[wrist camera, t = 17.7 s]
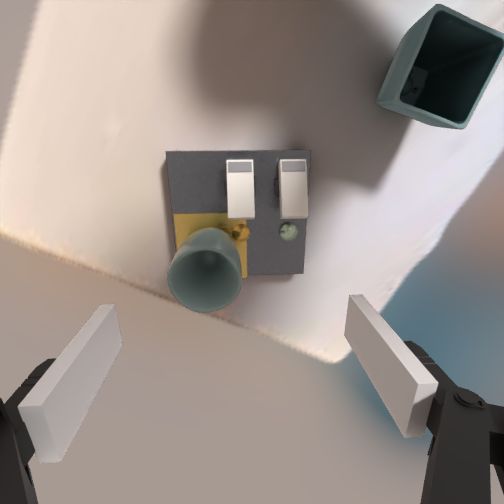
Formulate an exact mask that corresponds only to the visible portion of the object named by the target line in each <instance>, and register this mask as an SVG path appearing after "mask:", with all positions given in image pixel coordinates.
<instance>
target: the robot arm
mask: <svg viewBox="0 0 504 504" xmlns="http://www.w3.org/2000/svg"><path fill="white" fill-rule="evenodd" d="M344 336H345V337H346V339H347V341H348V342H349V344H350V346H351V348H352V349H353V351H354V353H355V354H356V356H357V358H358V359H359V361H360V363H361V365H362V366H363V368H364V370H365V371H366V373H367V375H368V377H369V378H370V380H371V382H372V383H373V385H374V387H375V388H376V390H377V392H378V393H379V395H380V397H381V399H382V400H383V402H384V404H385V405H386V407H387V409H388V411H389V412H390V414H391V416H392V418H393V419H394V421H395V423H396V424H397V426H398V428H399V429H400V431H401V433H402V434H403V436H404V438H417V437H424V433H425V429H426V426H427V427H428V429H429V430H430V431H431V433H432V434H433V437H432V441H431V444H430V448H429V451H428V455H429V458H428V463H427V469H426V475H425V480H424V486H423V492H422V498H421V503H420V504H491V490H490V464H493V465H494V467H495V470H496V473H497V476H498V479H499V482H500V485H501V487H502V491H503V494H504V407H502V406H497V405H492V404H487V403H486V402H485V401H484V400H483V399H482V398H481V397H479V396H478V395H477V394H475V393H474V392H472V391H470V390H468V389H464V388H461V387H458V386H457V385H456V384H455V383H454V382H453V381H452V380H451V379H450V378H449V377H448V376H447V375H446V374H445V373H444V371H443V370H442V369H441V368H440V367H439V366H438V365H437V364H435V362H434V361H433V360H432V359H431V358H430V357H429V355H428V354H427V353H426V352H425V351H424V350H423V349H422V348H421V347H420V346H418V345H416V344H415V343H413V342H412V341H402V340H401V339H400V338H399V337H398V335H397V334H396V333H395V332H394V331H393V330H392V328H391V327H390V326H389V325H388V324H387V323H386V321H385V320H384V319H383V318H382V317H381V316H380V315H379V313H378V312H377V311H376V310H375V309H374V308H373V306H372V305H371V304H370V303H369V302H368V301H367V299H366V298H365V297H364V296H363V295H349V301H348V309H347V317H346V325H345V333H344ZM122 346H123V342H122V338H121V332H120V327H119V323H118V317H117V311H116V306H115V304H101V305H100V306H99V307H98V308H97V310H96V311H95V312H94V313H93V314H92V316H91V317H90V318H89V319H88V321H87V322H86V323H85V324H84V325H83V327H82V328H81V329H80V331H79V332H78V333H77V334H76V335H75V337H74V338H73V339H72V340H71V342H70V343H69V344H68V345H67V347H66V348H65V349H64V350H63V351H62V353H61V354H60V355H59V356H58V358H56V359H47V360H46V361H45V362H43V363H42V364H40V365H39V366H37V367H36V368H35V369H34V371H33V372H32V373H31V374H30V375H29V376H28V379H26V380H25V381H24V382H23V383H22V384H21V387H19V388H18V389H17V390H16V391H15V392H14V393H13V395H12V396H11V397H10V398H9V399H8V400H7V401H6V403H5V404H4V403H3V401H2V399H1V398H0V504H38V501H37V496H36V492H35V488H34V484H33V480H32V476H31V472H30V468H29V466H28V462H29V460H30V459H31V457H32V456H33V454H34V453H35V454H36V457H37V459H38V462H39V463H50V462H61V460H62V458H63V456H64V454H65V453H66V450H67V449H68V447H69V445H70V443H71V441H72V440H73V438H74V436H75V433H76V432H77V430H78V428H79V426H80V424H81V423H82V421H83V419H84V417H85V415H86V413H87V411H88V410H89V408H90V406H91V404H92V402H93V400H94V399H95V397H96V395H97V393H98V391H99V389H100V387H101V385H102V384H103V382H104V380H105V378H106V376H107V374H108V372H109V371H110V369H111V367H112V365H113V363H114V361H115V359H116V358H117V356H118V354H119V352H120V350H121V348H122Z"/></svg>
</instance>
